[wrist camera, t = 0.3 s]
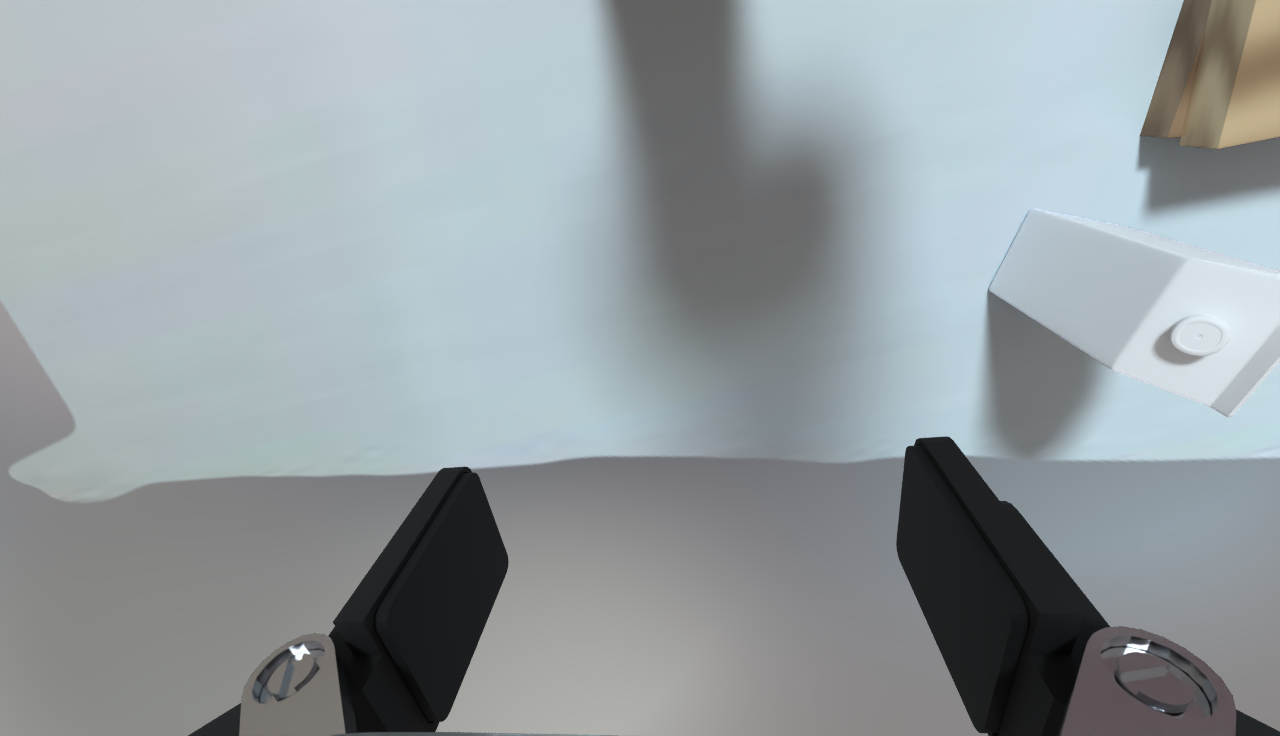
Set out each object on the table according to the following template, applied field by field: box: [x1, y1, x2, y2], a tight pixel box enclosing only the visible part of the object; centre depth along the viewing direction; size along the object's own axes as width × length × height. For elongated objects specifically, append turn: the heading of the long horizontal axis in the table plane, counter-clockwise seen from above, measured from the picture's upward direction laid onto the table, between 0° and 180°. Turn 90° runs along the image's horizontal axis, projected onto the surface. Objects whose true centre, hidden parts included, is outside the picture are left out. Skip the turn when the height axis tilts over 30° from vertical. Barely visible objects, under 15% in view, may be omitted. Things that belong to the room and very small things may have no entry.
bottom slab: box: [1140, 0, 1212, 138], centre depth 34 cm, size 10×10×3 cm
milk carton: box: [989, 208, 1280, 417], centre depth 34 cm, size 7×7×19 cm
